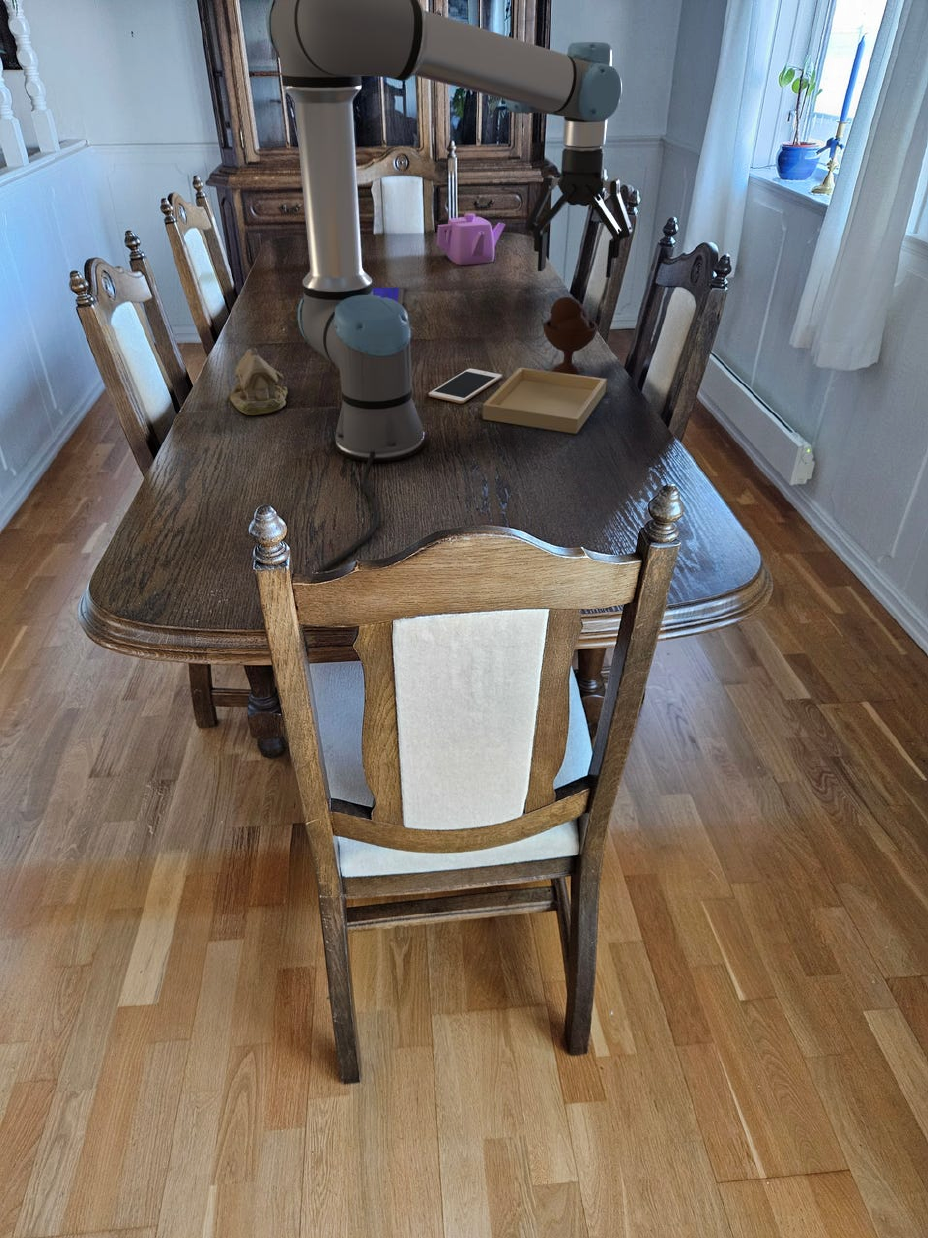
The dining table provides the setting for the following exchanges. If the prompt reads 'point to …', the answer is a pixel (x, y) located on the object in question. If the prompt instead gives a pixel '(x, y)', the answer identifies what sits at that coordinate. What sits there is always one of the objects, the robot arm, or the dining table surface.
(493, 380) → the cell phone
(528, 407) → the tray
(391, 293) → the booklet
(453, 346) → the dining table surface
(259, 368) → the ceramic model
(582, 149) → the robot arm
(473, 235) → the teakettle
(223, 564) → the dining table surface
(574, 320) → the ice cream bowl
